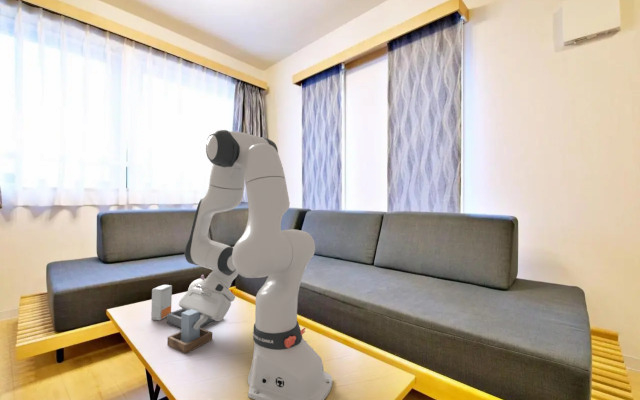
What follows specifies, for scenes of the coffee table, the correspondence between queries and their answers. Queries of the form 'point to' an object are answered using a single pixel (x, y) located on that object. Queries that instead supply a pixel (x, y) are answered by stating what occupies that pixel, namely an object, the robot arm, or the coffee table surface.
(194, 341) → the walnut holder
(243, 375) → the coffee table surface
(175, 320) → the charcoal tray
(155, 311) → the skincare box
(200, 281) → the ornament
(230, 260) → the robot arm
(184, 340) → the slate block
